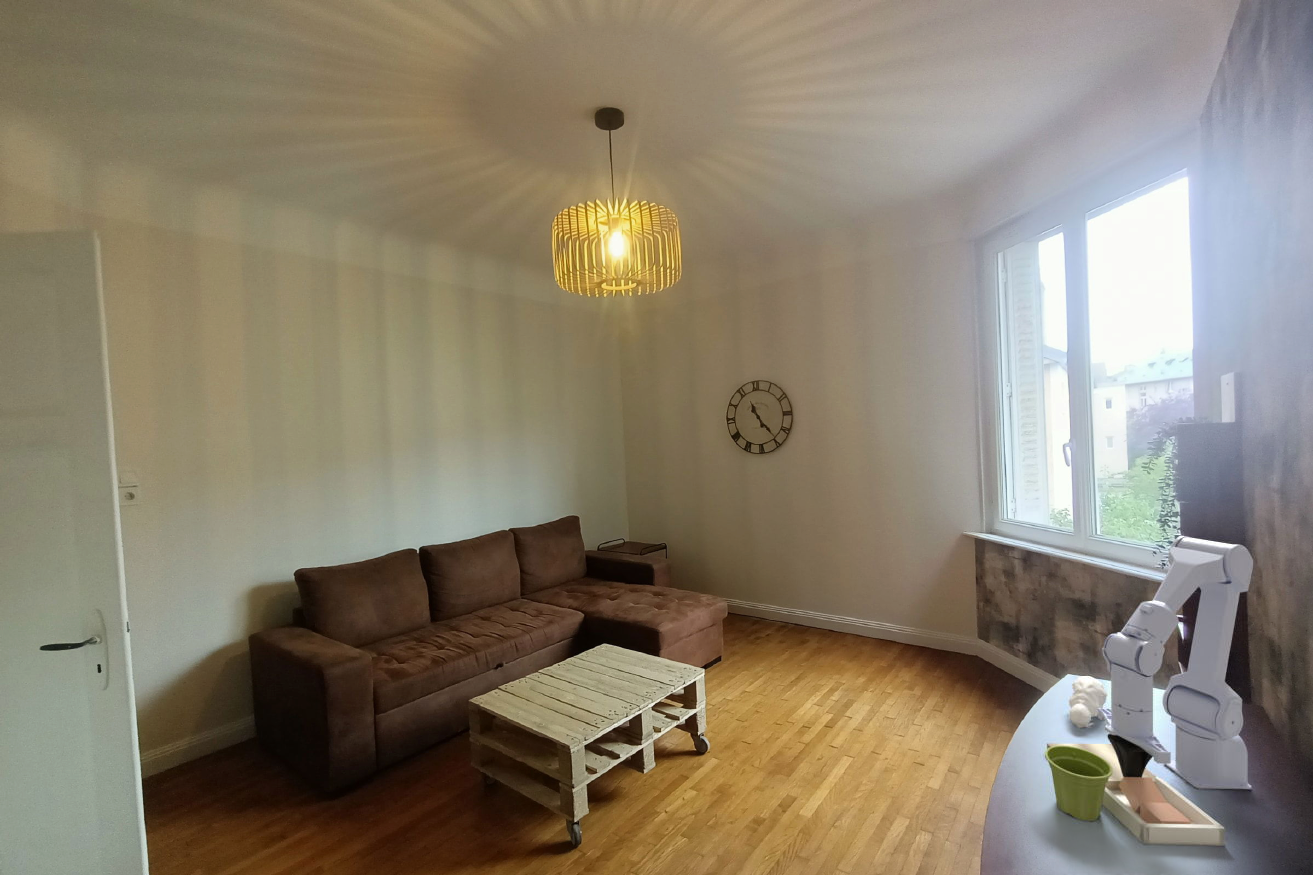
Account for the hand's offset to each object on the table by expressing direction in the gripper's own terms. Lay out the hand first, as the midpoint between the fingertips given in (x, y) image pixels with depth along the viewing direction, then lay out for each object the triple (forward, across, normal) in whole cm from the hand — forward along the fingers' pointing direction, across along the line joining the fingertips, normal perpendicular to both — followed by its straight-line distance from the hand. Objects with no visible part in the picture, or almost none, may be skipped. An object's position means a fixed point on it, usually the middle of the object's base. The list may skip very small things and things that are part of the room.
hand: (1131, 779), depth 103 cm
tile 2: (+3, +8, 0) cm, 8 cm away
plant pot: (+4, +3, -11) cm, 12 cm away
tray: (+3, +5, 0) cm, 6 cm away
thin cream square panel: (+3, -8, 0) cm, 9 cm away
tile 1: (+2, +2, 0) cm, 3 cm away
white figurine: (+4, -27, +9) cm, 28 cm away
